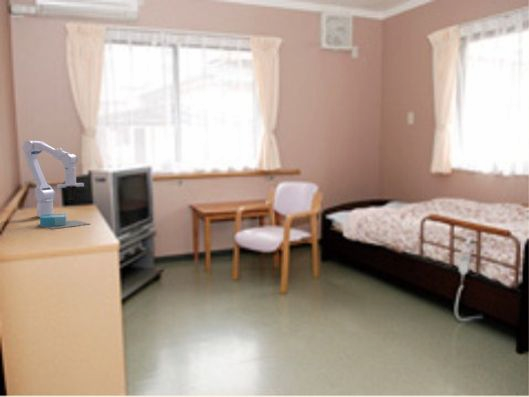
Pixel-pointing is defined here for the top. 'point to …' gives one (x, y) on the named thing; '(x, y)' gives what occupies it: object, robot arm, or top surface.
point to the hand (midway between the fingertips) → (71, 200)
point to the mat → (68, 224)
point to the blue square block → (52, 220)
